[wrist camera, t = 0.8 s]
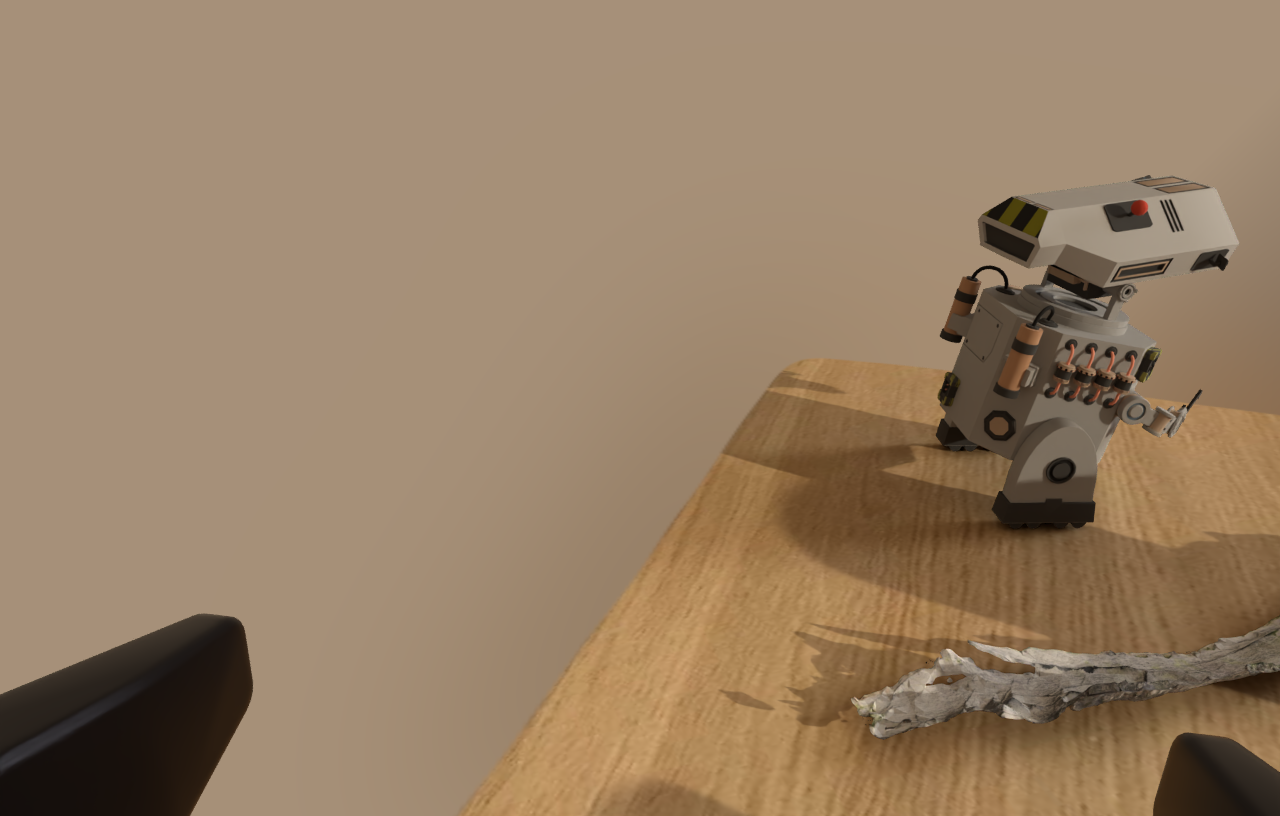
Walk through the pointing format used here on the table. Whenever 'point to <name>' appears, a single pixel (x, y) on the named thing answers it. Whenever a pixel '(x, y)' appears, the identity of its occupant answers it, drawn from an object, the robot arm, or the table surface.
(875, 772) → the table surface
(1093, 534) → the table surface
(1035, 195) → the figurine
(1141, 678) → the driftwood
